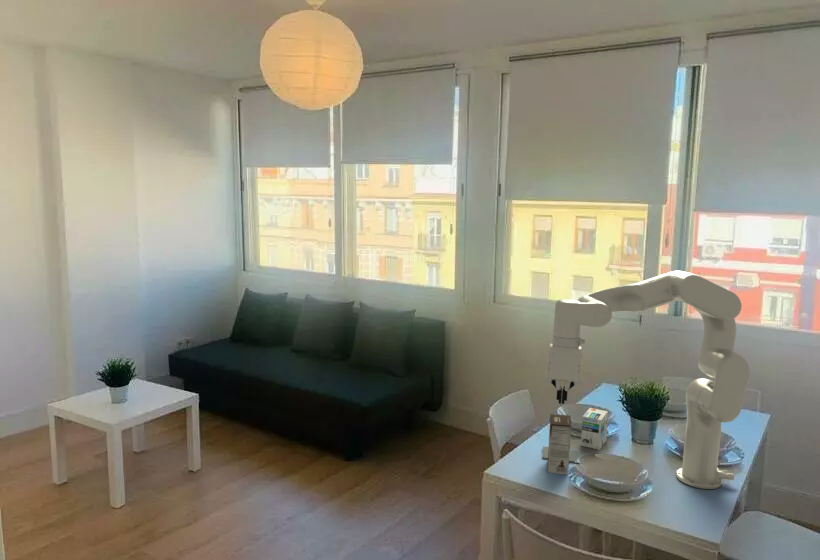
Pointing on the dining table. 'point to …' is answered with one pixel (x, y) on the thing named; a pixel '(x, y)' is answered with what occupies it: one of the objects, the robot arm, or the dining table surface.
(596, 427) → the light bulb box
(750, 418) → the dining table surface
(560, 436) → the coffee box
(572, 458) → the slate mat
